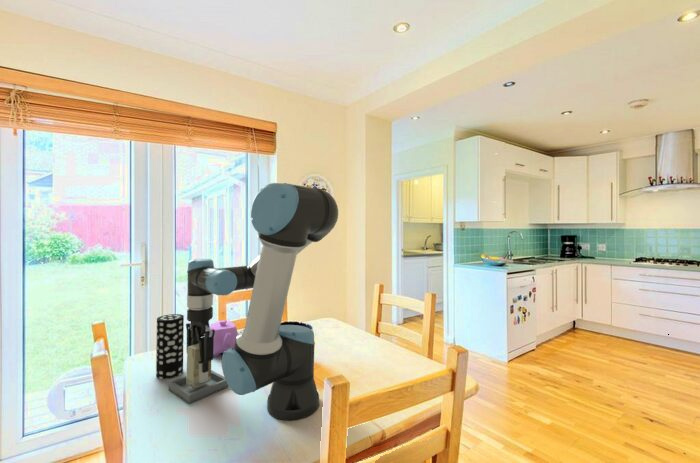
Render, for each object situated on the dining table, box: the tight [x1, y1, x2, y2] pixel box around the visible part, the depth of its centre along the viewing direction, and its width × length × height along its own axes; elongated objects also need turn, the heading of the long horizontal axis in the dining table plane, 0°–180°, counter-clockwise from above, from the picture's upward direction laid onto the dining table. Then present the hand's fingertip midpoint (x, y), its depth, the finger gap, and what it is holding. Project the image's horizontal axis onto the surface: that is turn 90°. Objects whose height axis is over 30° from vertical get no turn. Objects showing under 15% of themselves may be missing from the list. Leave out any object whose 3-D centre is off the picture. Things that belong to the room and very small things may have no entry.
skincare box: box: [185, 343, 212, 388], centre depth 103 cm, size 6×4×12 cm
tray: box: [168, 369, 230, 404], centre depth 103 cm, size 13×13×2 cm
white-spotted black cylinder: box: [155, 313, 185, 380], centre depth 113 cm, size 8×8×20 cm
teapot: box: [209, 319, 239, 357], centre depth 134 cm, size 20×12×13 cm, turn 33°
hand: (199, 378), depth 103 cm, fingers closed on skincare box, 4 cm apart
